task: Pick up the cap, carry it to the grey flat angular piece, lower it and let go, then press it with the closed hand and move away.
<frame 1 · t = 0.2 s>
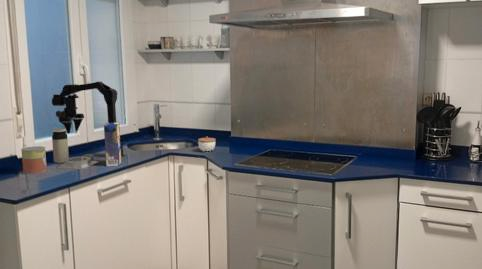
hand: (72, 132, 274), 14 cm above the worktop, tool pointing down, fingers open, 9 cm apart
lidded jar: (207, 151, 286), on the worktop
beverage box: (113, 164, 254), on the worktop
cap: (88, 159, 266), on the worktop
canned food: (35, 171, 238), on the worktop
grey flat angular piece: (77, 165, 251), on the worktop
travel mug: (61, 161, 260), on the worktop
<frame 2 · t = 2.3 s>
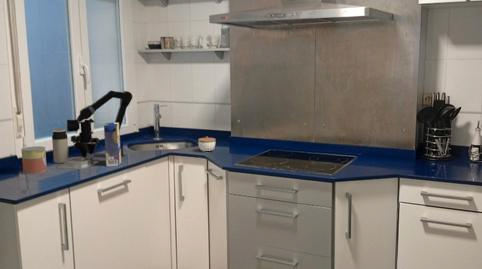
hand: (87, 157, 266), 1 cm above the worktop, tool pointing down, fingers closed on cap, 7 cm apart
cap: (87, 159, 266), on the worktop, touching gripper
everything else where it was.
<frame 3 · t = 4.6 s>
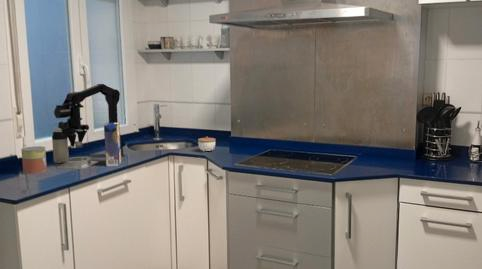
hand: (76, 145, 249), 11 cm above the worktop, tool pointing down, fingers closed on cap, 7 cm apart
cap: (76, 147, 249), point 10 cm above the worktop, touching gripper
everything else where it was.
when the fingers open (3 cm above the worktop, at t = 6.9 s): cap drops 2 cm, resting on grey flat angular piece.
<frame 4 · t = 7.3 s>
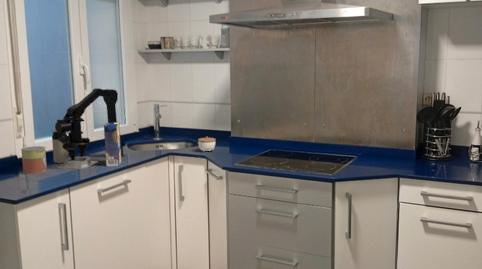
hand: (77, 158, 250), 3 cm above the worktop, tool pointing down, fingers open, 9 cm apart
cap: (77, 163, 251), point 1 cm above the worktop, touching grey flat angular piece
everything else where it was.
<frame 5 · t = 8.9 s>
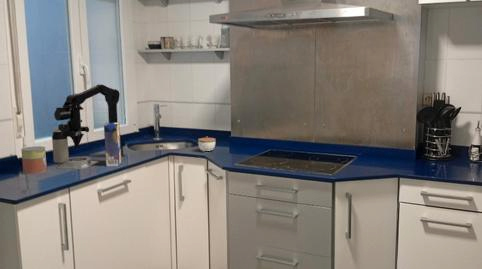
hand: (76, 147, 249), 10 cm above the worktop, tool pointing down, fingers closed
nothing on the worktop moved.
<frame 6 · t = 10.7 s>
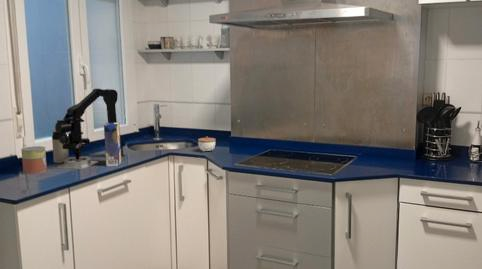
hand: (77, 159, 250), 3 cm above the worktop, tool pointing down, fingers closed
nothing on the worktop moved.
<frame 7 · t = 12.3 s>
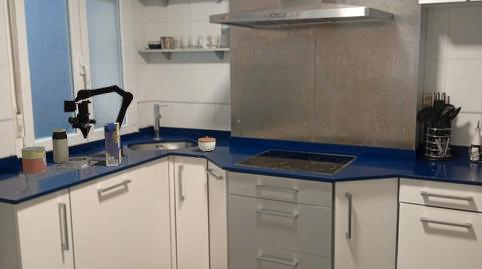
hand: (85, 138, 265), 12 cm above the worktop, tool pointing down, fingers closed
nothing on the worktop moved.
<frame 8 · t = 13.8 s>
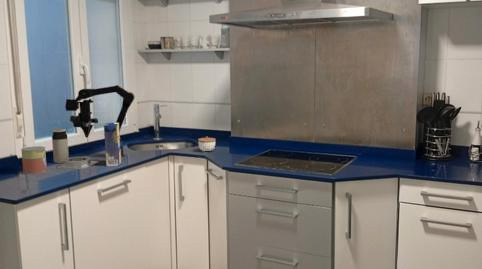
hand: (86, 137, 268), 12 cm above the worktop, tool pointing down, fingers closed
nothing on the worktop moved.
at the end: cap 0.1 cm off-centre on the grey flat angular piece, point 0.6 cm above the grey flat angular piece's base; cap tilted 0°; the gripper is holding nothing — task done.
